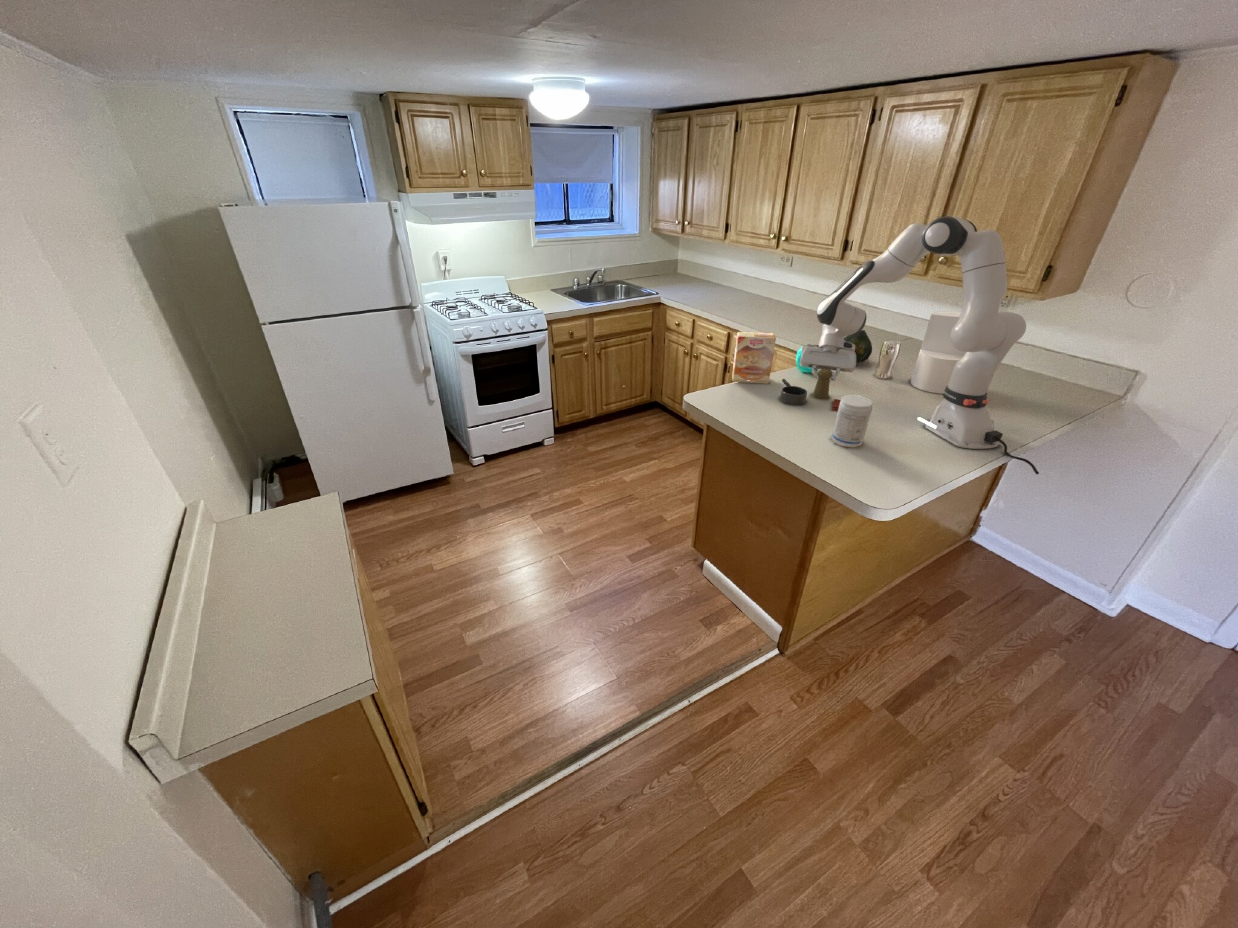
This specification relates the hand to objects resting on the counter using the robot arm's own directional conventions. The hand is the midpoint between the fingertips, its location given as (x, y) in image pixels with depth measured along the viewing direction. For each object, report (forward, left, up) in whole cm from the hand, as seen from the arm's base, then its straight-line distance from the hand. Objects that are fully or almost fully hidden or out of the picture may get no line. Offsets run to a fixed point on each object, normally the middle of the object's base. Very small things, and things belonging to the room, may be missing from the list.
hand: (824, 378), depth 195 cm
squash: (+40, -31, -8) cm, 51 cm away
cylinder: (+9, -51, -8) cm, 53 cm away
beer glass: (+20, -35, -8) cm, 42 cm away
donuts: (+30, -6, -8) cm, 32 cm away
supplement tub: (-37, +6, -8) cm, 38 cm away
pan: (-3, +12, -8) cm, 14 cm away
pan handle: (+6, +12, -5) cm, 14 cm away
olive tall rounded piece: (+1, 0, -8) cm, 8 cm away
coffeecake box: (+19, +23, -8) cm, 31 cm away
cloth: (-10, -5, -8) cm, 14 cm away
